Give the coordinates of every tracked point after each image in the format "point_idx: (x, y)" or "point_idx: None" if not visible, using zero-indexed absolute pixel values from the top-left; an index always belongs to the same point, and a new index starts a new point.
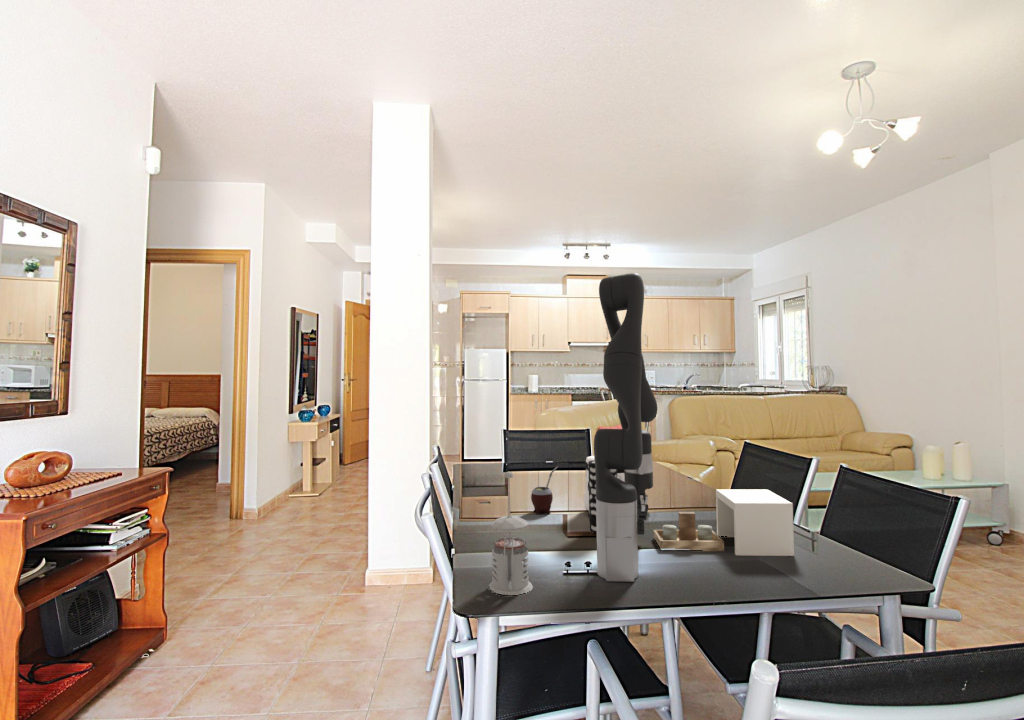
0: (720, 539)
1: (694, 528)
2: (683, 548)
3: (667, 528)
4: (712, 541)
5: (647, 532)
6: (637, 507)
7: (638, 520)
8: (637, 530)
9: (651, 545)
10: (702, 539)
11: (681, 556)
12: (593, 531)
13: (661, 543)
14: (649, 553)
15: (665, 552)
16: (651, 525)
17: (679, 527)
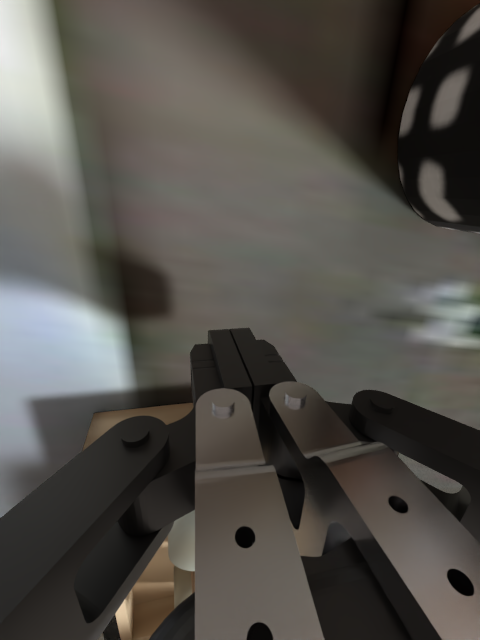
0: (150, 636)
1: None
2: None
3: (174, 537)
4: (117, 623)
5: (389, 373)
6: (160, 624)
7: (180, 422)
8: (211, 350)
9: (186, 376)
10: (178, 581)
11: (16, 490)
12: (477, 8)
13: (84, 447)
14: (27, 356)
15: (69, 431)
16: (470, 394)
17: None
